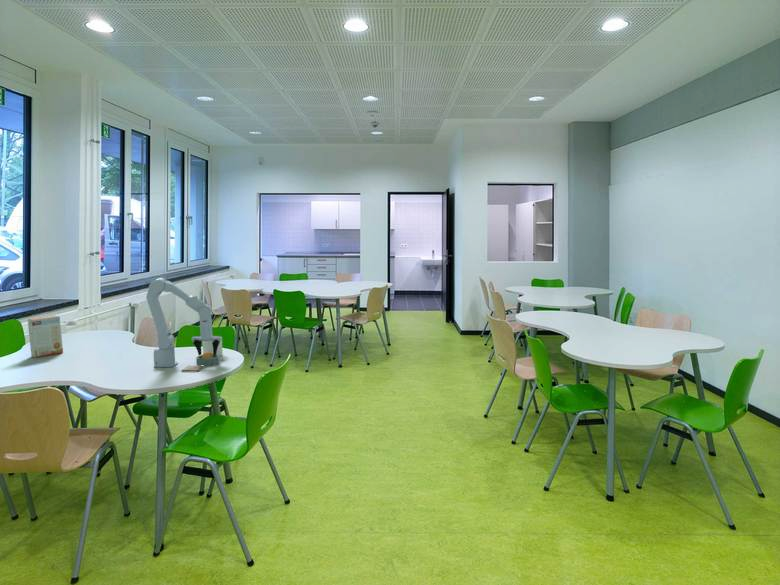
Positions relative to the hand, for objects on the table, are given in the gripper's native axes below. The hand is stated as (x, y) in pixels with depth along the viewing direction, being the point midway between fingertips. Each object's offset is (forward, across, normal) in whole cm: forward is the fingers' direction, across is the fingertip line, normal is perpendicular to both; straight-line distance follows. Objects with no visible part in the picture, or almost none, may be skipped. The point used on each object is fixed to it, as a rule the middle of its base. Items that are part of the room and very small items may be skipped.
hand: (207, 354), depth 271 cm
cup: (+5, -3, +16) cm, 17 cm away
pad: (+4, -3, -12) cm, 13 cm away
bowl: (+4, 0, 0) cm, 4 cm away
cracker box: (+5, -96, +19) cm, 98 cm away
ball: (+1, 0, 0) cm, 1 cm away
